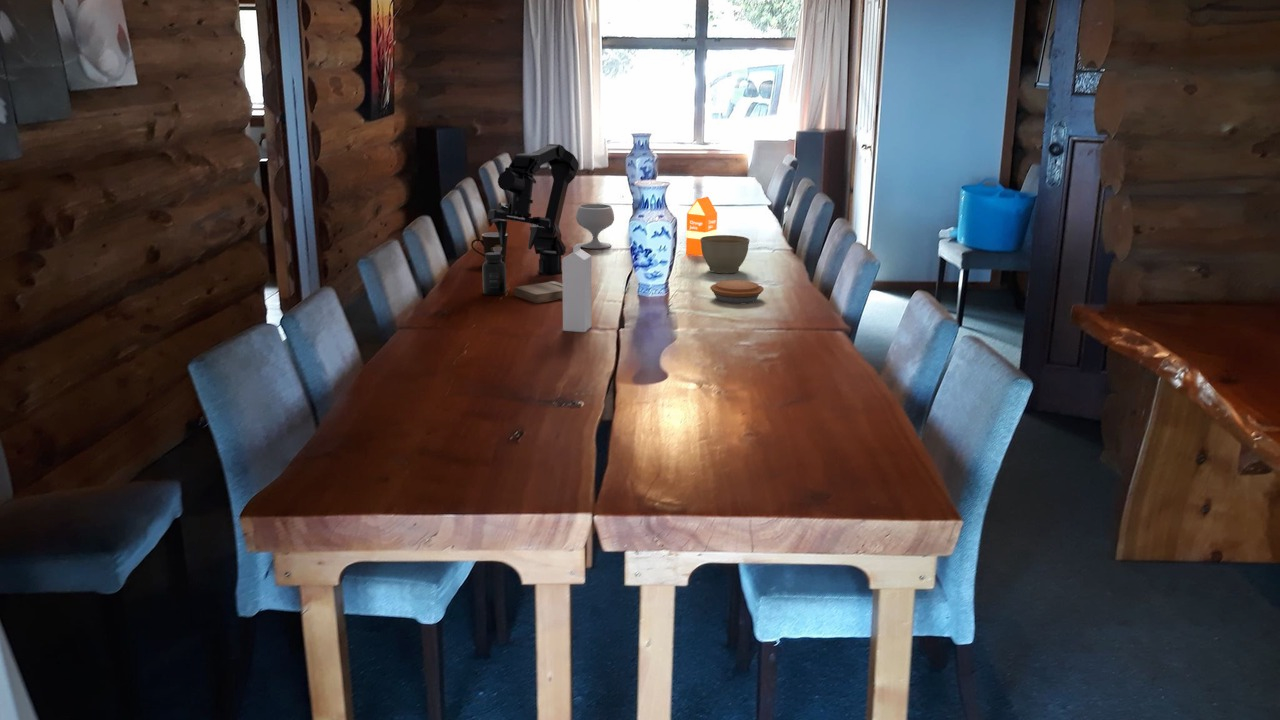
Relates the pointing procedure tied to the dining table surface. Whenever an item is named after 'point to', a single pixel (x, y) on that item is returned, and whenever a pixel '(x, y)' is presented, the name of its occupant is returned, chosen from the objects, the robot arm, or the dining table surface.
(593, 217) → the chalice
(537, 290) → the beige flat block
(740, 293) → the pie
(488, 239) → the coffee mug
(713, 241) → the planter bowl
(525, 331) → the dining table surface
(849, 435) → the dining table surface
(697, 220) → the orange juice
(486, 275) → the supplement bottle
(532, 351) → the dining table surface
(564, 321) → the milk
